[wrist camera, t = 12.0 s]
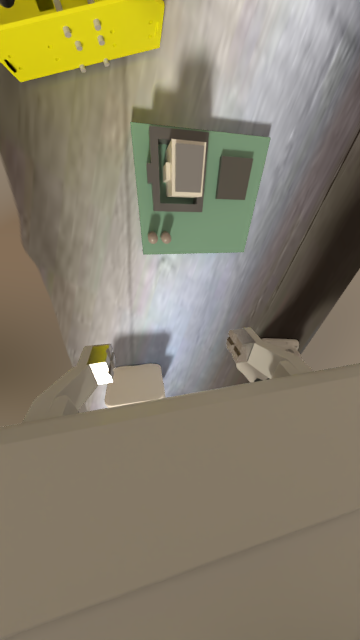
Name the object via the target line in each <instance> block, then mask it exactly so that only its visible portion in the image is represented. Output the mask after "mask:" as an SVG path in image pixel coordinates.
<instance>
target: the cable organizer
mask: <svg viewBox="0 0 360 640" xmlns="http://www.w3.org/2000/svg"><path fill="white" fill-rule="evenodd" d="M113 371H114V376H113V382H110V383H108V384H107V389H106V395H105V404H106V406H107V407H108V408H111V407H116V406H122V405H127V404H133V403H139V402H144V401H150V400H156V399H161V398H166V397H165V390H164V383H163V379H162V371H161V366H160V365H158V364H152V363H149V364H142V365H136V366H121V367H118V368H115V369H113Z"/></svg>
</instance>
